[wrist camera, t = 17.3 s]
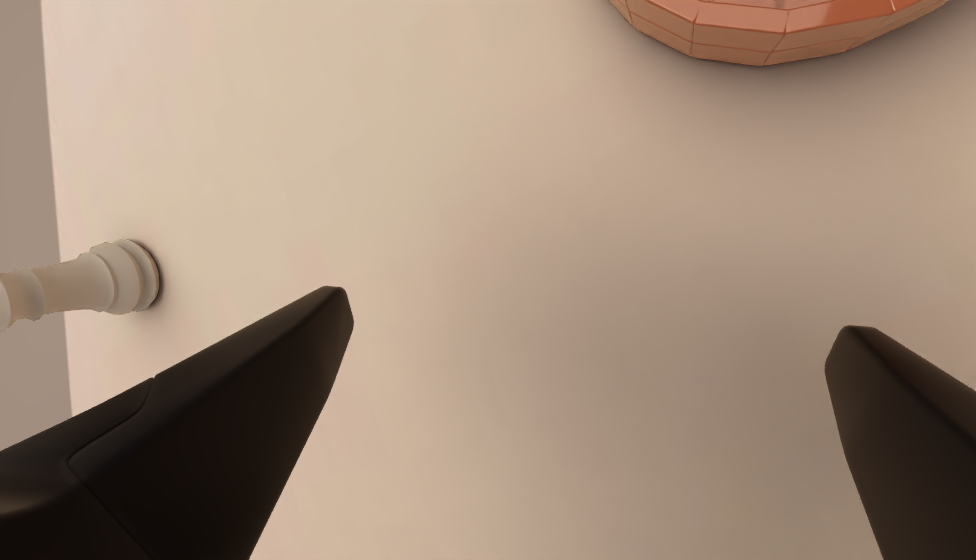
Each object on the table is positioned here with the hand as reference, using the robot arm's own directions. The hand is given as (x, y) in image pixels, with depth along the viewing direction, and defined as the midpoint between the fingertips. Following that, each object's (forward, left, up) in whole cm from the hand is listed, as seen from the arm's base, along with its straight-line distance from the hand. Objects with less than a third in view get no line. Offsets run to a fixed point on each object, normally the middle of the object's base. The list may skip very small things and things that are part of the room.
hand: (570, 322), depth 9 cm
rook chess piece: (+28, +9, -11) cm, 31 cm away
